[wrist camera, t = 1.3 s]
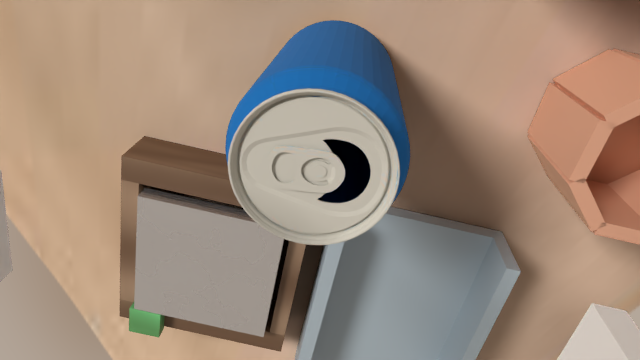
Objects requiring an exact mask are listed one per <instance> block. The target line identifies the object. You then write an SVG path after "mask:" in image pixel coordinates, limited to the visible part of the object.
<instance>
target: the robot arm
mask: <svg viewBox="0 0 640 360" xmlns="http://www.w3.org/2000/svg"><path fill="white" fill-rule="evenodd" d="M12 270H13V269H12V261H11V252H10V243H9V234H8V226H7V217H6V208H5V200H4V191H3V182H2V173H1V170H0V281H2V279H4V278H5V277H6V276H7V275H8V274H9V273H10V272H11V271H12ZM557 360H640V330H639V328H638V327H637V325H636V324H635V323H634V321H633V320H632V319H631V317H630V316H629V314H628V313H627V311H625V310H621V309H616V308H612V307H608V306H603V305H599V304H594V303H592V304H591V306H590V307H589V309H588V310H587V312H586V314H585V315H584V317H583V318H582V320H581V322H580V323H579V325H578V327H577V328H576V330H575V331H574V333H573V335H572V336H571V338H570V339H569V341H568V343H567V344H566V346H565V348H564V349H563V351H562V352H561V354H560V356H559V357H558V359H557Z"/></svg>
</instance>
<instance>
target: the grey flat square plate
mask: <svg viewBox="0 0 640 360" xmlns="http://www.w3.org/2000/svg"><path fill="white" fill-rule="evenodd" d="M283 244H284V239H283V238H280V237H278V236H276V235H274V234H272V233H270V232H269V231H267V230H265V229H264V228H263V227H261V226H260V225H258V224H257V223H256V222H255V221H254V220H253V219H252V218H251V217H250V216H249V215H248V214H247V213H246V212H245V210H242V209H238V208H233V207H229V206H224V205H220V204H215V203H211V202H207V201H202V200H198V199H193V198H189V197H184V196H180V195H175V194H171V193H166V192H162V191H158V190H153V189H149V188H144V190H143V191H142V192H141V193H140V194H139V195H138V199H137V231H136V264H135V296H134V309H138V310H142V311H147V312H151V313H156V314H160V315H165V316H169V317H174V318H179V319H183V320H188V321H192V322H197V323H201V324H206V325H210V326H215V327H219V328H224V329H228V330H233V331H238V332H242V333H247V334H251V335H256V336H260V337H264V333H265V329H266V325H267V321H268V316H269V311H270V306H271V301H272V297H273V292H274V287H275V282H276V278H277V273H278V268H279V263H280V258H281V254H282V249H283Z"/></svg>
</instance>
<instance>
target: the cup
mask: <svg viewBox="0 0 640 360" xmlns="http://www.w3.org/2000/svg"><path fill="white" fill-rule="evenodd" d="M553 81H554V83H555V84H554V83H550V82H549V85H548V87H547V89H546V91H545V94H544V96H543V98H542V100H541V103H540V105H539V107H538V109H537V112H536V114H535V116H534V118H533V121H532V123H531V125H530V128H529V130H528V133H529V135H528V138H529V140H530V142H531V144H532V146H533V148H534V150H535V152H536V154H537V156H538V158H539V160H540V162H541V164H542V166H543V168H544V170H545V172H546V174H547V176H548V177H549V179H550V180H551V181H552V182H553V184H554V185H555V186H556V188H557V189H558V190H559V191H560V193H561V194H562V195H563V196H564V198H565V199H566V200H567V202H568V203H569V204H570V205H571V207H572V208H573V209H574V210H575V212H576V213H577V214H578V216H579V217H580V218H581V219H582V221H583V222H584V223H585V224H586V226H587V227H588V228H589V230H590V231H591V232H592V231H593V233H594V234H596V235H600V236H604V237H609V238H613V239H618V240H622V241H626V242H631V243H635V244H640V55H639V54H635V53H631V52H627V51H622V50H618V49H613V51H612V50H609V49H608V50H606V51H605V52H603V53H601V54H599V55H597V56H595V57H593V58H591V59H589V60H588V61H586V62H584V63H582V64H580V65H578V66H576V67H574V68H573V69H571V70H569V71H567V72H565V73H563V74H561V75H559V76H557V77H556V78H554V79H553Z"/></svg>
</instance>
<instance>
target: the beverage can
mask: <svg viewBox="0 0 640 360" xmlns="http://www.w3.org/2000/svg"><path fill="white" fill-rule="evenodd" d="M226 160H227V165H228V174H229V179H230V183H231V186H232V189H233V192H234V194H235V196H236V198H237V200H238V202H239V203H240V205H241V206H242V208H243V209H244V210H245V212H246V213H247V214H248V215H249V216H250V217H251V218H252V219H253V220H254V221H255V222H256V223H257V224H258V225H260V226H261V227H263V228H264V229H265V230H267V231H269V232H270V233H272V234H274V235H276V236H278V237H280V238H283V239H285V240H288V241H292V242H295V243H300V244H306V245H330V244H336V243H340V242H344V241H348V240H350V239H353V238H355V237H357V236H359V235H361V234H363V233H365V232H366V231H368V230H369V229H370V228H372V227H373V226H374V225H375V224H376V223H378V222H379V221H380V220H381V219H382V217H383V216H384V215H385V214H386V212H387V211H388V209H389V208H390V206H391V205H392V203H393V202H394V201H395V200H396V198H397V196H398V195H399V193H400V191H401V189H402V187H403V185H404V182H405V180H406V177H407V173H408V169H409V162H410V144H409V138H408V133H407V128H406V124H405V119H404V115H403V110H402V106H401V101H400V97H399V92H398V88H397V83H396V79H395V74H394V70H393V66H392V62H391V59H390V57H389V55H388V53H387V51H386V49H385V48H384V46H383V45H382V44H381V43H380V41H379V40H378V39H377V38H376V37H375V36H374V35H372V34H371V33H370V32H368V31H367V30H365V29H364V28H362V27H360V26H358V25H355V24H352V23H349V22H344V21H323V22H319V23H315V24H312V25H310V26H307V27H306V28H304V29H302V30H300V31H299V32H298V33H296V34H295V35H294V36H293V37H292V38H291V39H290V40H289V41H288V42H287V43H286V45H285V46H284V47H283V48H282V50H281V51H280V52H279V53H278V55H277V56H276V57H275V58H274V60H273V61H272V62H271V63H270V65H269V66H268V67H267V68H266V70H265V71H264V72H263V73H262V75H261V76H260V77H259V78H258V80H257V81H256V82H255V83H254V85H253V86H252V87H251V88H250V90H249V91H248V92H247V93H246V95H245V96H244V97H243V99H242V100H241V101H240V102H239V104H238V105H237V107H236V109H235V111H234V113H233V115H232V117H231V120H230V123H229V126H228V131H227V135H226Z"/></svg>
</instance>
